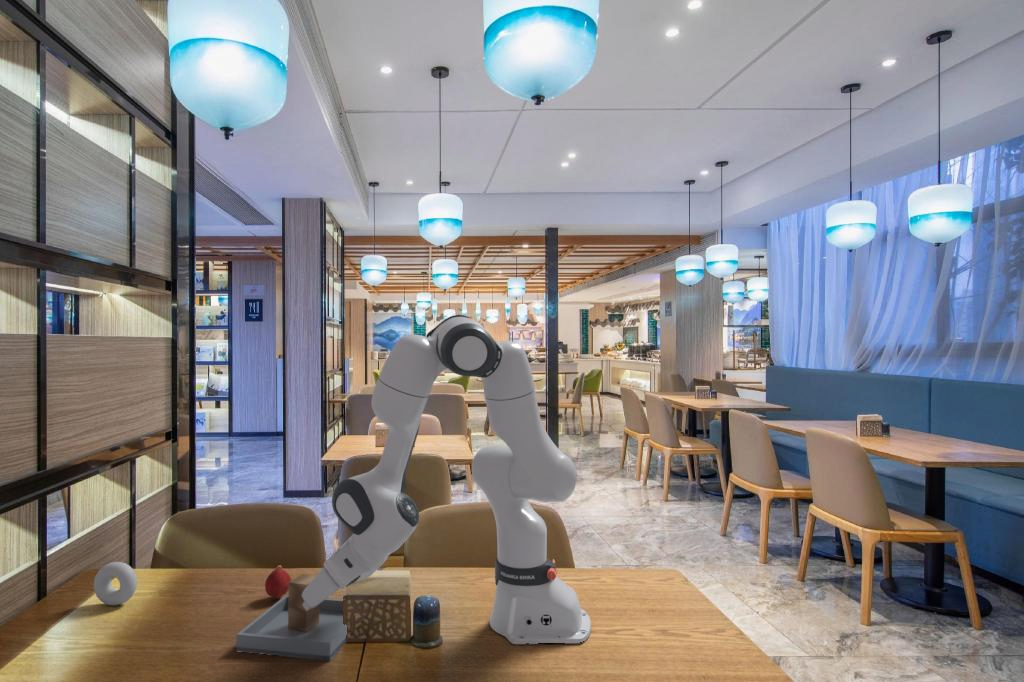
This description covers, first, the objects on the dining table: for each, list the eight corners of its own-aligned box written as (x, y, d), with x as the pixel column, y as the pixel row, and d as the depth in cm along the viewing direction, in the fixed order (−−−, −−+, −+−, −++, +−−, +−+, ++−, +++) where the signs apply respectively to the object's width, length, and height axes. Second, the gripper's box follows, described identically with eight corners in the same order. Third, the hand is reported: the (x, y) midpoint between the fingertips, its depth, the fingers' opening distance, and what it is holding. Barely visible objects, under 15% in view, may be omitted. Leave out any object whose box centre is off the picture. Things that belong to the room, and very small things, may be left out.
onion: (272, 606, 130) (273, 572, 130) (260, 599, 133) (260, 566, 134) (295, 598, 135) (296, 565, 135) (282, 591, 138) (283, 559, 138)
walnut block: (319, 622, 121) (319, 576, 121) (306, 632, 116) (306, 584, 117) (301, 619, 122) (302, 574, 122) (288, 629, 118) (288, 582, 118)
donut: (140, 602, 132) (141, 560, 132) (129, 609, 128) (130, 566, 128) (101, 600, 132) (102, 558, 133) (89, 607, 129) (90, 564, 129)
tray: (367, 616, 125) (367, 601, 126) (330, 661, 108) (330, 643, 108) (285, 610, 128) (285, 594, 128) (236, 652, 111) (236, 634, 111)
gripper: (377, 528, 127) (339, 566, 129) (322, 562, 107) (279, 605, 110) (394, 550, 125) (356, 587, 128) (342, 588, 106) (298, 631, 108)
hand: (320, 596), depth 119 cm, fingers open, 8 cm apart
